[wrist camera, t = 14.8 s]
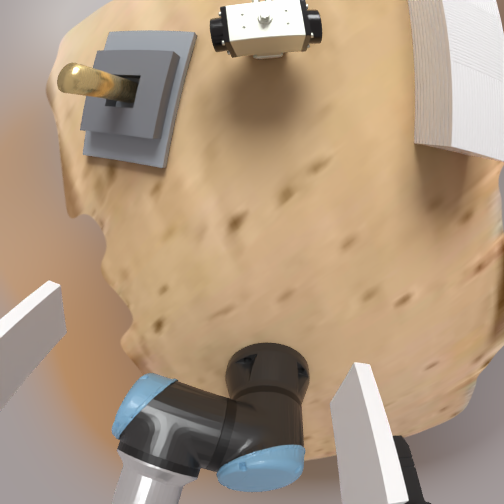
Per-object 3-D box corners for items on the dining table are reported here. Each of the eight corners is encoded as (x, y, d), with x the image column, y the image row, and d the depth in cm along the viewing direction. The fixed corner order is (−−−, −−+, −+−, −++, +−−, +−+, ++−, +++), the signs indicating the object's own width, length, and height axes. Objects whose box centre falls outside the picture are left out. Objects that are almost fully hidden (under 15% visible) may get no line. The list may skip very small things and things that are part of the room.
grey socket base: (166, 166, 40) (154, 170, 36) (87, 153, 40) (71, 156, 36) (197, 35, 33) (188, 25, 29) (114, 34, 33) (99, 26, 29)
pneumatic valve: (313, 60, 33) (327, 31, 22) (226, 68, 35) (207, 41, 24) (307, 26, 32) (318, -11, 20) (222, 34, 33) (203, -1, 22)
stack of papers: (400, -33, 25) (425, -62, 15) (454, -13, 24) (485, -34, 14) (413, 143, 36) (451, 146, 26) (467, 155, 36) (510, 163, 26)
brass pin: (139, 104, 36) (76, 92, 22) (120, 102, 36) (54, 92, 22) (144, 82, 35) (84, 61, 21) (124, 81, 34) (61, 63, 20)
